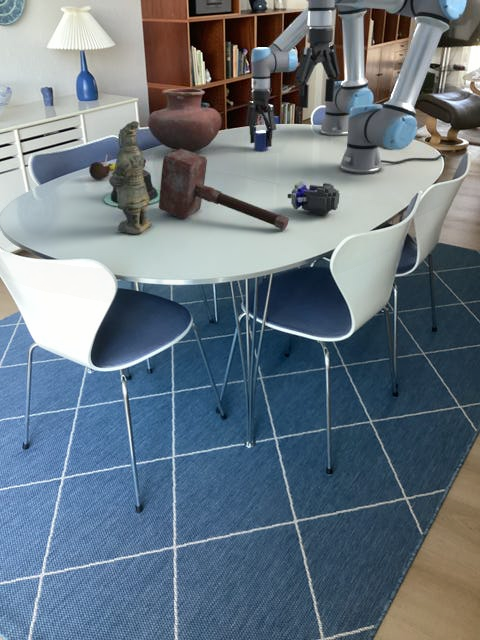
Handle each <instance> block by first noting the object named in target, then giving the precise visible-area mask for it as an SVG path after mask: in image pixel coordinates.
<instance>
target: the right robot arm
mask: <svg viewBox="0 0 480 640" xmlns="http://www.w3.org/2000/svg"><path fill="white" fill-rule="evenodd" d="M306 2H308V3H307V7H308V26H309V27H310V29H308V30H307V34H306V42H307V43H308V44H309V47H306V46H305V47H304V46H303V47H302V49H301V57H300V61H299V62H298V63H299V64H298V66H297V69H296V73H295V77H294V83H295V84H296V85H298V96H299V99H298V100H299V104H298V107H299V108H303V109H308V108H309V91H310V88H309V87H310V85H309V84H308V83H309V81H310V78H311V76H312V74H313V71H314V69H315V67H316V66H317V65H318V64H320V63H321V65H322V67H323V69H324V71H325V74H326V76H327V78H326V79H325V92H324V93H325V95H324V102H326V101H328V102H333V99H334V87H335V82H336V80H339V77H340V75H341V73H340V66H339V62H338V57H337V53H336V51H337V50H336V49H337V48H336V44H333V43H332V42H333V38H334V29H333V28H332V27H333V26H334V24H335V10H334V6H335V5H345V6H356V7H367V9H368V8H369V9H376V10H377V9H379V10H385V11H386V12H387V13H388V14H394V15H400V16H404V17H407V18H412V19H414V22H415V24H416V28H415V30H414V33H413V35H412V39H411V41H410V44H409V47H408V49H407V52H406V55H405V58H404V59H403V63H402V65H401V69H400V71H399V74H398V77H397V79H396V81H395V85H394V88H393V90H392V93H391V95H390V99H389V100H387V101H385V102H383V105H382V104H381V103H380V104H379V103H372V104H371V105H360V106H354V107H352V108H351V109H350V114H349V118H348V119H349V121H348V135H347V137H346V139H347V140H346V149H345V151H344V154H343V156H342V158H341V162H340V170H341V171H343V172H345V173H349V174H355V175H356V174H357V175H369V174H370V175H371V174H376V173H378V172H380V171H382V163H383V164H392V165H397V164H401V163H404V162H409V161H436V160H437V161H438V160H439V159H441V158H442V157H443V158H447V156H446V155H445V154H444V153H441V154H439V155H438V156H436V157H409V158H404V159H401V160H395V161H392V160H384V159H381V155H380V150H379V147H382V148H385V149H387V150H395V151H400V150H402V149H405V148H406V147H408V146H409V145H410V144H411V143H412V142H413V141H414V139H415V137H416V135H417V132H418V121H417V119H416V115H417V111H416V109H415V105H416V103H417V100H418V98H419V95H420V92H421V90H422V87H423V85H424V83H425V79H426V77H427V74H428V71H429V69H430V67H431V64H432V61H433V59H434V56H435V53H436V50H437V48H438V45H439V43H440V40H441V37H442V35H443V34H444V33H445V32H446V31H448V30H450V26H451V24H452V21H456V20H457V19H459V18H460V17H461V16H462V15H463V14H464V12H465V9H466V6H467V2H468V1H467V0H306Z"/></svg>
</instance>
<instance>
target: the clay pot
mask: <svg viewBox="0 0 480 640" xmlns="http://www.w3.org/2000/svg"><path fill="white" fill-rule="evenodd" d="M205 92H206V91H204V90H202V89H199V88H193V87H191V88H189V87H187V88H172V89H163V90H162V92H161V93H162V94H163V95H165V97H166V99H167V105H166V107H165V108H163V109H159V110H155V111H153V112H151V113H150V114H149V116H148V117H147V119H148V120H147V127H148V129H149V131H150V133H151V135H152V136H153V137H154V138H155V139H156V140H157V142H159V143H160V144H161V145H163V146H165V147H166V148H169V149H171V150H174V151H177V150H179V149H184V150H187V151H190V152H192V153H194V152H197V151H201V150H202V149H204V148H206V147H207V146H209V145H210V144H211V143H212V142H213V141H214V139H215V138H216V137H217V136H218V133H219V131H220V129H221V127H222V122H223V120H222V116H221V114H220V113H219V112H218V111H217V110H216V109H215V108H212V107H202V99H203V96H204V94H205Z"/></svg>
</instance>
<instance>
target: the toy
mask: <svg viewBox="0 0 480 640" xmlns="http://www.w3.org/2000/svg"><path fill="white" fill-rule="evenodd" d="M293 187H294V188H293V189H292V191H291V193H288V194H287V199H291V200H290V201H291V202H290V203H291V206H292V207H293V210H298V209H299V208H301V210H303V211H306V212H307V214H310V215H311V214H312V215H318V216H326V215H328V213H330V212H331V211H336V210H337V209H338V205H339V204H340V194H341V193H340V190H338V189H337V188H335V187H334V184H332V183H328V182H324V183H322V185H315V184H310V185H309V186H308V187H309V188H308V187H307V185H306V184H305V183H304V181H301V180H299V181H298V182H296V183H295V184H294V186H293Z"/></svg>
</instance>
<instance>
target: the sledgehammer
mask: <svg viewBox="0 0 480 640" xmlns="http://www.w3.org/2000/svg"><path fill="white" fill-rule="evenodd" d="M207 164H208V159H207V158H206V157H205V156H203V155H200V154H197V153H195V152H190V151H187V150H184V149H179V150H174V151H172V152H169V153H167V154H165V155H164V156H163V158H162V167H161V176H160V187H159V190H160V198H159V200H158V208H159V210H160V211H162V212H165V213H168V214H170V215H173V216H174V217H177V218H180V219H182V220H185V219H187V218H188V217H190V216H192V215H193V214H195V213H197V212H198V211H199V210H200V209H201V207H202V201H203V200H204V201H207V202H209V203H213V204H215V205H220V206H223V207H225V208H228V209H231V210H233V211H236V212H239V213H241V214H243V215H245V216H248V217H252V218H255V219H257V220H260V221H262V222H264V223H267V224H270V225H273V226H274V228H276V229H280V230H282V231H285V230H286V228H287V227H288V224H289V221H290V218H289V217H288V216H286V215H283V214H281V213H279V214H277V213H275V212H273V211H269V210H267V209H265V208H262V207H259V206H256V205H254V204H251V203H248V202H246V201H244V200H242V199H238V198H236V197H233V196H231V195H228V194H225V193H223V192H222V191H220V190H218V189H215V188H214V187H211V186H208V185H205V181H206V175H207Z"/></svg>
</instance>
